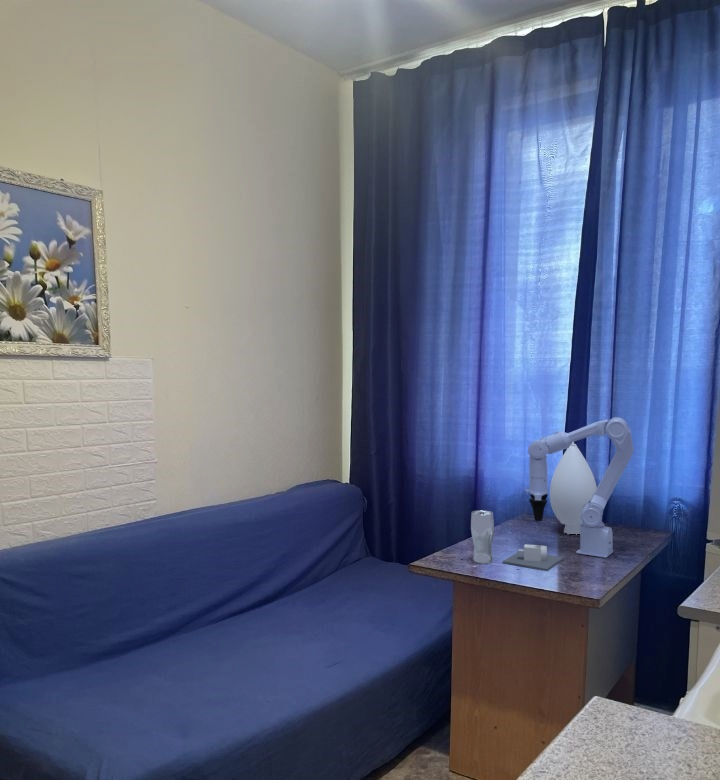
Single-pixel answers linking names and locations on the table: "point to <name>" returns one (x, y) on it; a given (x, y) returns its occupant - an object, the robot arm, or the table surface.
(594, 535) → the robot arm
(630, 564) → the table surface
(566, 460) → the lamp
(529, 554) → the connector
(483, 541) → the beer glass
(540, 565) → the mat
